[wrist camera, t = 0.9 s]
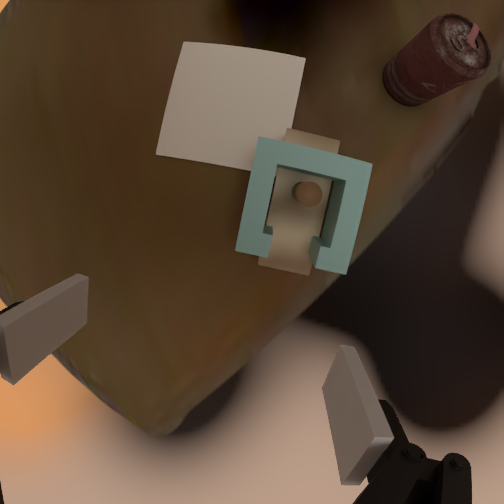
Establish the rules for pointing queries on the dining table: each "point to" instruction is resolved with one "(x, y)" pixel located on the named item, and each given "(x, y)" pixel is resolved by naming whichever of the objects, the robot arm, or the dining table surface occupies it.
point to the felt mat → (228, 103)
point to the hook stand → (297, 209)
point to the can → (438, 60)
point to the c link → (339, 210)
